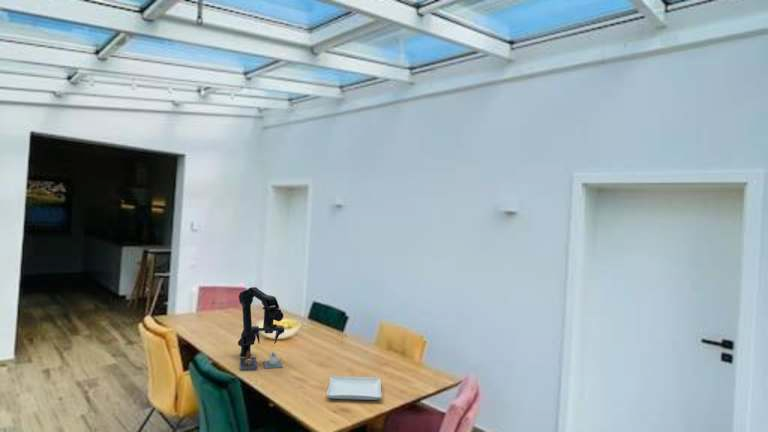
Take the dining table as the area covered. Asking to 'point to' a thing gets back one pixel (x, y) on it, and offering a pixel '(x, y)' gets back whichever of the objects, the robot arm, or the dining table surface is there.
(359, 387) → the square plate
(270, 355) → the lever cap
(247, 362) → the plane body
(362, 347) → the dining table surface
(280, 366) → the rest mat
